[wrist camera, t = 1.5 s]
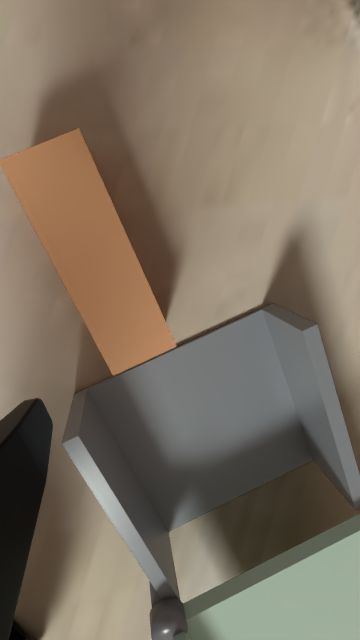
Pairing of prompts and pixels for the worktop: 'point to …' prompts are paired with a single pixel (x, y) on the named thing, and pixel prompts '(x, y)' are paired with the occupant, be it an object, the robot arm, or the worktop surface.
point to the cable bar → (89, 248)
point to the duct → (208, 430)
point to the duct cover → (278, 597)
